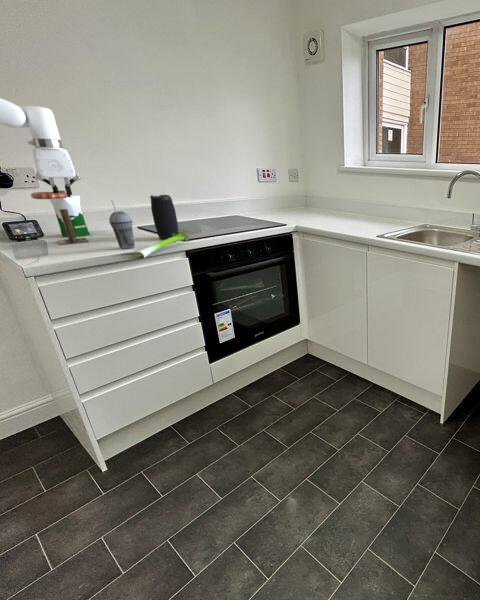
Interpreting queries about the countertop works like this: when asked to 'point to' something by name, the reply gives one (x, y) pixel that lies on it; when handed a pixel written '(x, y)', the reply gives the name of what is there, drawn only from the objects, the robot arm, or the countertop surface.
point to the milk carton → (71, 215)
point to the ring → (49, 195)
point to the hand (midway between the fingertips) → (64, 196)
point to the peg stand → (69, 230)
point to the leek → (164, 243)
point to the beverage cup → (122, 229)
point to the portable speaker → (164, 216)
